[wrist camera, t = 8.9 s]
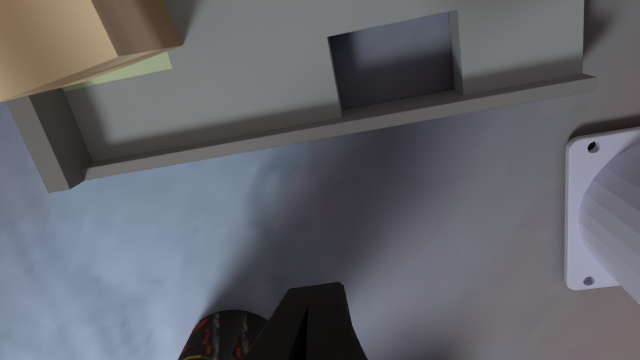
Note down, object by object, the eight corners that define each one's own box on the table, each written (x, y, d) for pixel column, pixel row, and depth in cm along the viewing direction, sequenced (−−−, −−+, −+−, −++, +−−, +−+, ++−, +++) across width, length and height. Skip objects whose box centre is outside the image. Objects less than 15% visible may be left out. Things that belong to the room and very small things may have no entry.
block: (130, -77, 15) (34, -117, 11) (182, 45, 17) (118, 56, 12) (30, -32, 16) (-100, -52, 11) (88, 80, 18) (-6, 103, 13)
